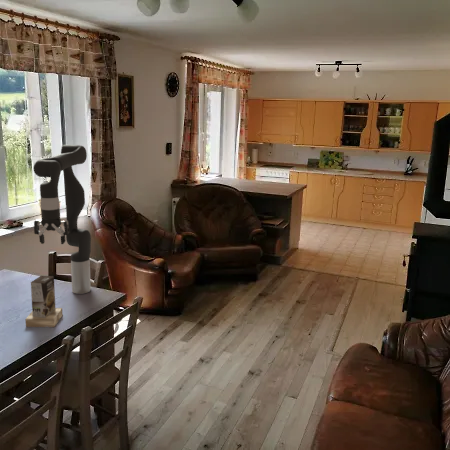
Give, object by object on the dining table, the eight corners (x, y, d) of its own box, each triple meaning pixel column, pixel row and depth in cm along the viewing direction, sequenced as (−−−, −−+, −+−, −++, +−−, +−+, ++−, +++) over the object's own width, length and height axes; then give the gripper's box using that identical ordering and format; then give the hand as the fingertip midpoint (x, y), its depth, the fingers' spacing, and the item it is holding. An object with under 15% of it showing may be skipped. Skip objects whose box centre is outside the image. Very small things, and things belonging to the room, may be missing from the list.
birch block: (35, 315, 205) (35, 307, 204) (62, 316, 206) (62, 307, 205) (25, 327, 193) (25, 319, 193) (54, 328, 194) (53, 319, 193)
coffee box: (46, 318, 194) (44, 283, 190) (32, 316, 195) (29, 282, 191) (56, 309, 203) (54, 276, 199) (42, 308, 204) (41, 274, 200)
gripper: (69, 205, 195) (71, 241, 199) (36, 204, 194) (39, 240, 198) (64, 209, 187) (66, 246, 192) (29, 208, 187) (32, 245, 191)
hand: (52, 243), depth 195 cm, fingers open, 8 cm apart
